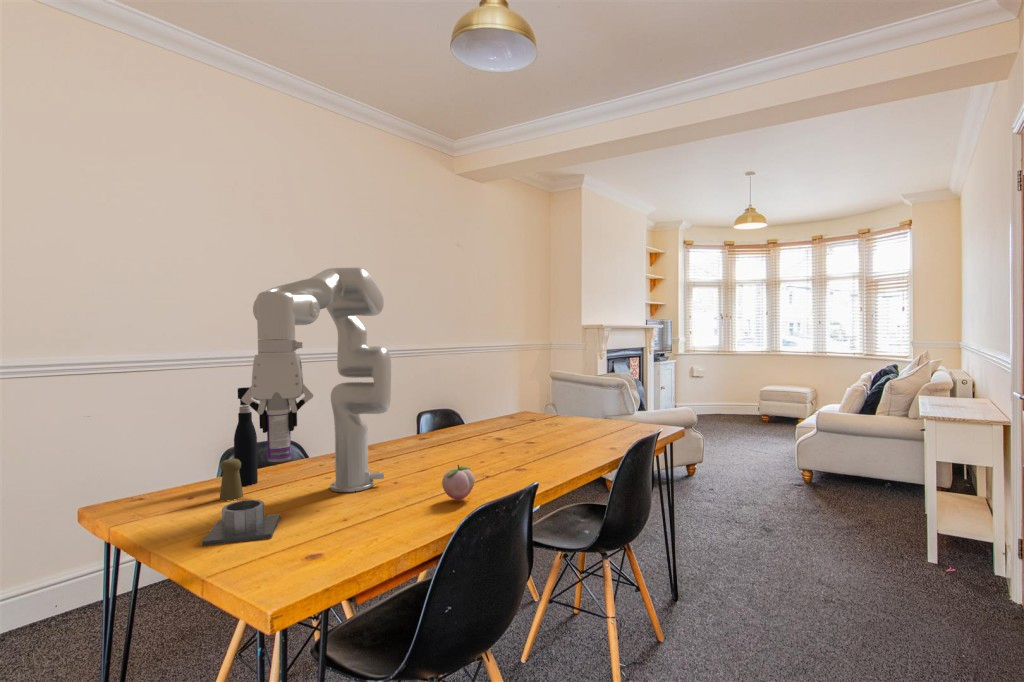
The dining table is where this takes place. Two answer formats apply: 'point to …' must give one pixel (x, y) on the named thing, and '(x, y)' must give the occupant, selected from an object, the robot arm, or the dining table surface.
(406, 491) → the dining table surface
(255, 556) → the dining table surface
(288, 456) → the container
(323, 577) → the dining table surface
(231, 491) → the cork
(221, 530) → the duct collar
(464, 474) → the decorative fruit
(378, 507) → the dining table surface
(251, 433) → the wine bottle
